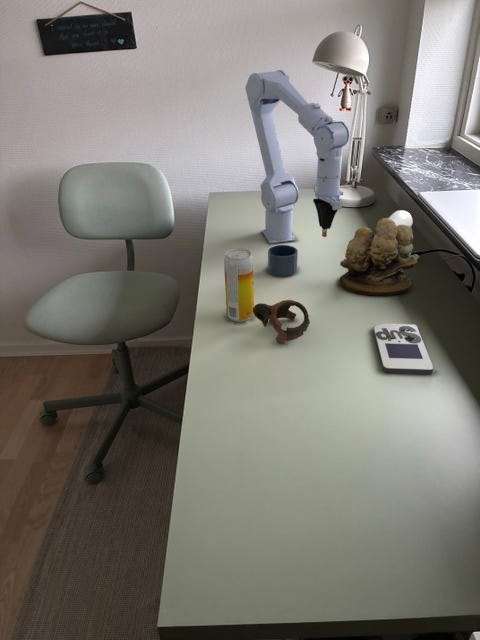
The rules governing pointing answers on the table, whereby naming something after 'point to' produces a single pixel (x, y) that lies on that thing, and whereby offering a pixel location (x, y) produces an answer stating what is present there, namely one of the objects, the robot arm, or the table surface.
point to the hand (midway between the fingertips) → (324, 227)
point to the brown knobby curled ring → (282, 311)
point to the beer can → (239, 284)
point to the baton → (324, 232)
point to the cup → (282, 260)
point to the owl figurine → (379, 260)
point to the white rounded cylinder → (401, 218)
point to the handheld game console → (402, 349)
